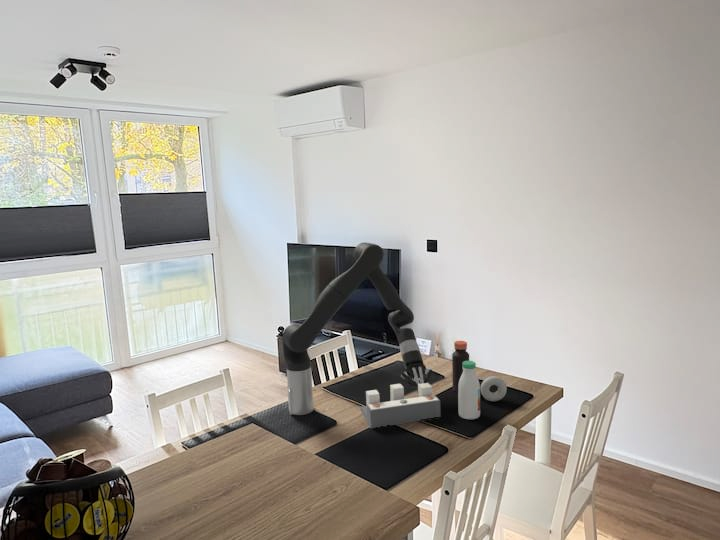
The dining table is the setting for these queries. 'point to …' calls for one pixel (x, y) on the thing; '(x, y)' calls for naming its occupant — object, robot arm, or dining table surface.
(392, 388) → the key middle
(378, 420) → the block
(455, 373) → the vinegar
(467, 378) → the milk bottle
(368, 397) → the key left
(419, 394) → the key right
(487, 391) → the donut
